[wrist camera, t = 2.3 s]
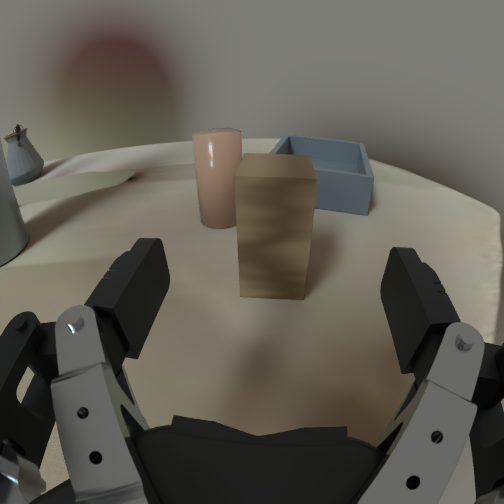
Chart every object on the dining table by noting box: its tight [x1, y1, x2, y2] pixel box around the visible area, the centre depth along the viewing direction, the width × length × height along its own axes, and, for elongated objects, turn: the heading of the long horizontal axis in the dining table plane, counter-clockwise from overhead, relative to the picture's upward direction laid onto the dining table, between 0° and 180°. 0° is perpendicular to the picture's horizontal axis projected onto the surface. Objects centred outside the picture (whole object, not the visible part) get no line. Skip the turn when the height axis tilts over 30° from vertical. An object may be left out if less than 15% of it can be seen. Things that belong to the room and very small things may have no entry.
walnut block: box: [234, 154, 317, 300], centre depth 22 cm, size 5×5×10 cm
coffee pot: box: [4, 125, 44, 186], centre depth 48 cm, size 21×12×15 cm, turn 47°
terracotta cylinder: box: [192, 128, 242, 229], centre depth 31 cm, size 5×5×10 cm
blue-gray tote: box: [269, 135, 374, 216], centre depth 41 cm, size 14×18×5 cm
